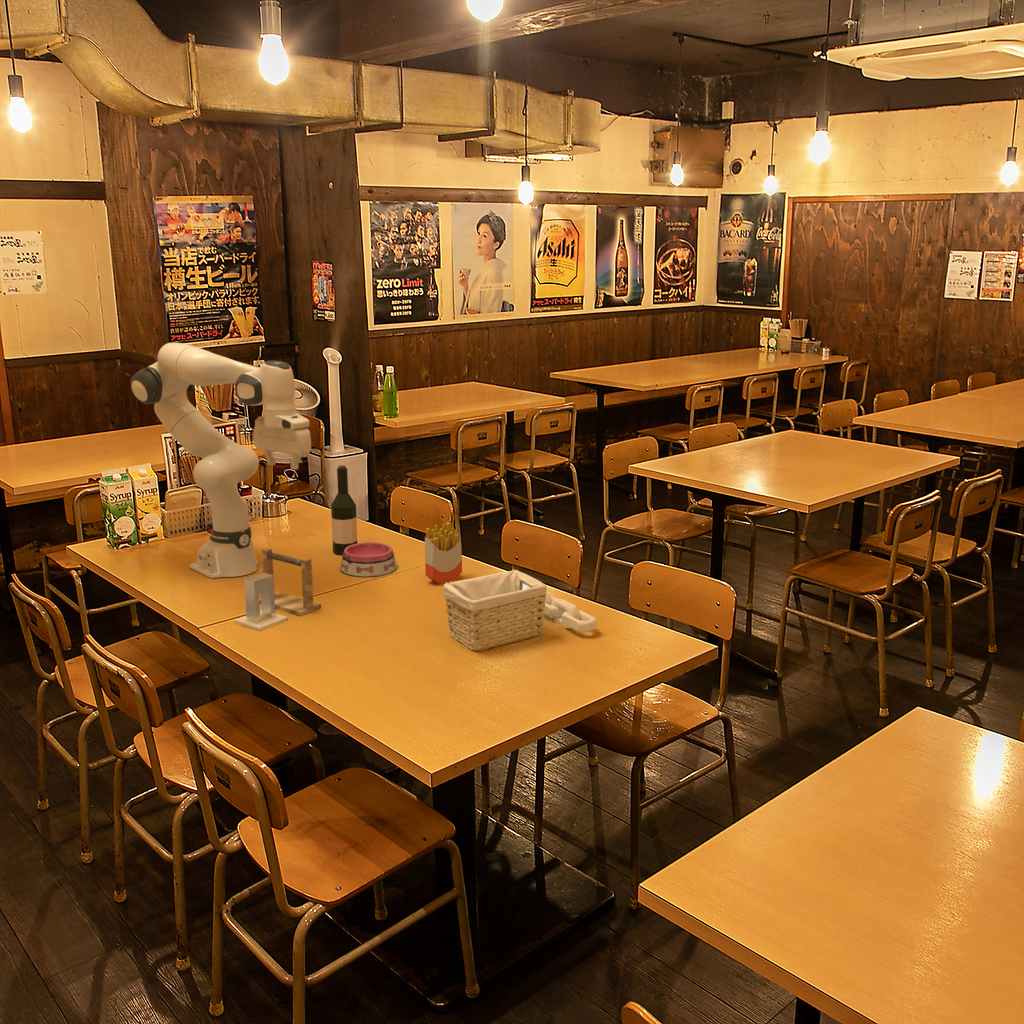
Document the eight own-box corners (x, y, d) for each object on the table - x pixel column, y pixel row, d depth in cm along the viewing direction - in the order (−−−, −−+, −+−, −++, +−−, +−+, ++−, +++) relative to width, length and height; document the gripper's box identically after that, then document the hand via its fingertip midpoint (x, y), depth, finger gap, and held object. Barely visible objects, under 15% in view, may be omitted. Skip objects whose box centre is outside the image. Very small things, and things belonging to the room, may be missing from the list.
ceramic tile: (234, 622, 266) (234, 620, 265) (262, 612, 273) (262, 609, 273) (259, 630, 260) (259, 628, 260) (287, 619, 268) (287, 617, 268)
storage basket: (470, 655, 246) (470, 600, 242) (441, 634, 259) (440, 582, 255) (549, 637, 258) (549, 584, 254) (516, 618, 271) (517, 568, 267)
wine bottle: (327, 552, 329) (324, 466, 321) (347, 547, 334) (344, 462, 327) (343, 557, 323) (339, 470, 315) (362, 552, 329) (359, 466, 321)
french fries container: (462, 579, 302) (462, 524, 297) (433, 586, 296) (432, 530, 291) (454, 576, 305) (454, 521, 301) (425, 582, 299) (424, 526, 294)
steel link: (246, 620, 265) (243, 579, 262) (265, 613, 271) (263, 572, 267) (256, 623, 263) (253, 581, 260) (275, 616, 268) (273, 575, 265)
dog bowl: (407, 571, 310) (407, 551, 308) (354, 581, 300) (353, 560, 298) (382, 557, 325) (382, 537, 323) (330, 566, 315) (330, 546, 313)
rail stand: (257, 603, 280) (253, 552, 276) (278, 595, 287) (275, 545, 283) (300, 616, 271) (297, 563, 267) (321, 608, 277) (319, 556, 273)
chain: (518, 606, 280) (519, 586, 279) (536, 602, 283) (536, 582, 282) (581, 640, 256) (582, 618, 254) (599, 635, 259) (600, 613, 258)
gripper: (246, 417, 276) (249, 464, 280) (297, 424, 265) (299, 473, 269) (263, 414, 281) (266, 460, 285) (313, 421, 270) (316, 469, 274)
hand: (282, 467), depth 277 cm, fingers open, 8 cm apart
